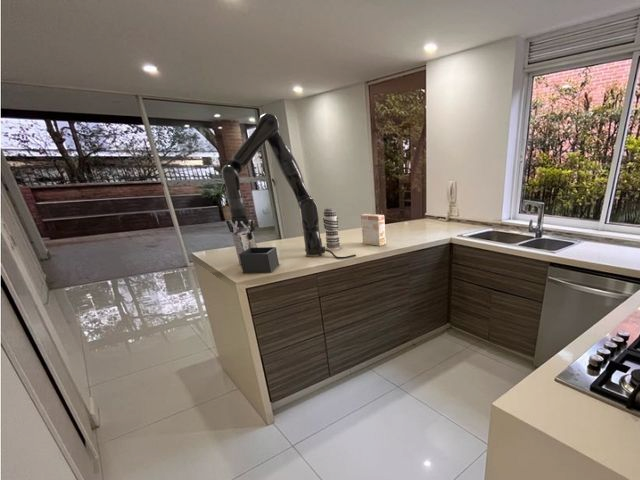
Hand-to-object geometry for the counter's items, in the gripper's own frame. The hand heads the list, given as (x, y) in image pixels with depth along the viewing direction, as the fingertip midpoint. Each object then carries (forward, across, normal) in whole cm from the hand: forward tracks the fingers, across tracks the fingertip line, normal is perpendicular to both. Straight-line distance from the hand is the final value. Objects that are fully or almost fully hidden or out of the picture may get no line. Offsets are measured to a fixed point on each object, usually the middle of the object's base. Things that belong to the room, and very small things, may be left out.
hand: (244, 239), depth 182 cm
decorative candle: (+13, -42, -31) cm, 54 cm away
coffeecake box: (+14, -68, -42) cm, 81 cm away
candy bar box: (+13, 0, 0) cm, 13 cm away
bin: (+13, -11, +13) cm, 21 cm away
